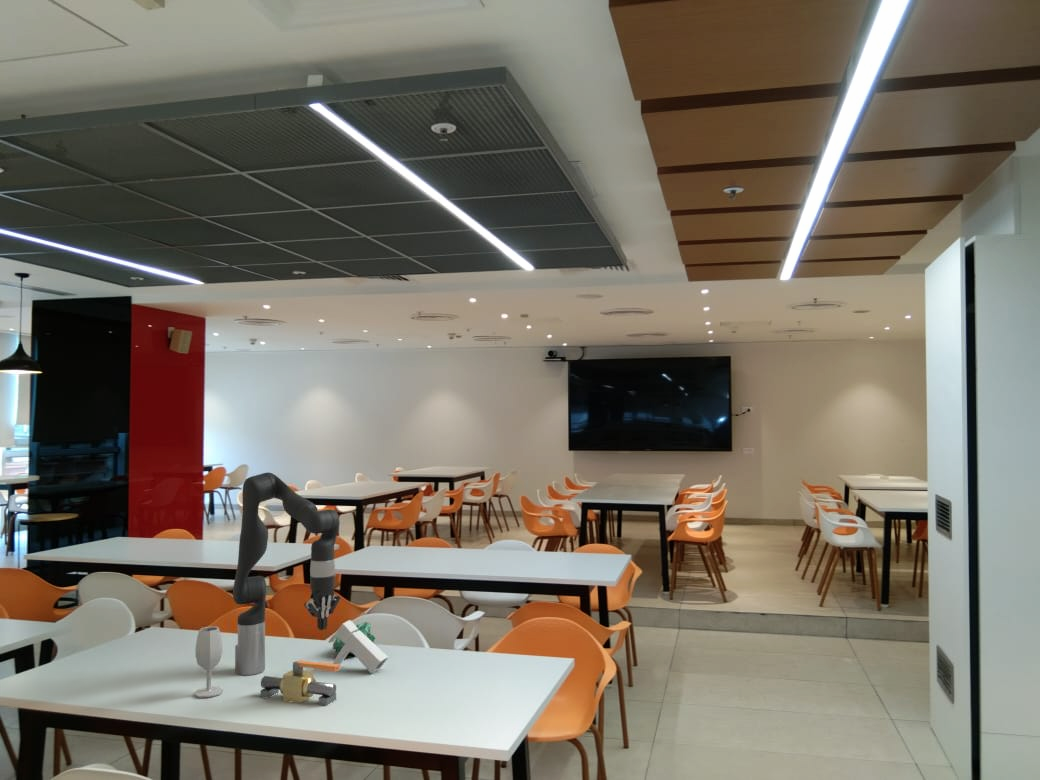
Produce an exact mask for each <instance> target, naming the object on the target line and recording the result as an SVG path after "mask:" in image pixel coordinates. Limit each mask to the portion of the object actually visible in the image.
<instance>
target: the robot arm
mask: <svg viewBox="0 0 1040 780" xmlns="http://www.w3.org/2000/svg"><path fill="white" fill-rule="evenodd" d="M241 493H242V496H241V497H242V512H241V513H242V516H241V526H240V527H241V529H240V533H239V534H240V535H239V544H238V557H237V558H238V559H237V567H236V572H235V577H234V583H233V589H232V597H233V601H234V603H235V604H236V605H250V604H253V606H252V607H250V608H249V609H247V610H246V611H244V612H242V613H240V614H238V616H237V644H235V645H234V646H235V647H234V654H235V655H234V659H235V660H234V661H235V662H234V664H235V665H234V671H235V672H234V673H237V674H238V675H240V676H251V675H252V676H253V675H257V674H261V673H263V672H264V671H265V670H266V600H267V599H266V598H267V582H266V579H265V577H264V576H263V575H256V576H249V574H250V572H251V571H252V569H253V568H254V567H255V566H256V565H257V563H259V561H260V560H261V559H262V558H263V557H264V555H265V554H266V551H267V549H268V548H267V547H268V539H269V531H268V528H267V527H266V524H265V523H264V521H263V520H262V519H261V517H260V516H259V506H260V504H261V503H263V502H266V501H269V500H272V499H277V500H280V501H281V502H282V507H283V509H284V511H285V513H286V514H287V515H289V516H290V517H292V519H295V520H297V521H298V522H300V523H301V525H302V526H303V528H305V530H306V531H307V532H309V533H311V534H315V535H318V534H320V537H319V538H318V539H317V540H315V541H313V542H312V543H311V547H310V568H309V569H310V570H309V572H310V573H309V574H310V575H309V576H310V579H309V581H310V582H309V583H310V584H309V585H310V586H309V587H310V588H309V589H310V591H311V593H310V597H309V598H310V599H309V600H308V601H307V602H304V605H303V606H304V607H305V609H306V610H307V612H309V614H310V615H311V616H312V617H313V618H316V623H317V626H316V627H317V629H318V630H319V631H324V630H327V627H328V617H329V616H330V615H333V613H334V611H335V610H336V607H337V605H338V603H339V601H340V599H341V596H339V595H336V594H335V590H334V589H335V587H336V566H335V565H336V564H335V543H336V541H337V537H338V532H339V530H340V521H341V520H340V517H339V514H338V512H336V510H334V509H330V508H329V509H322V510H318V507H317V506H316V504H315V503H313V502H312V501H310V500H308V499H306V498H305V497H303V496H301V495H299V494H298V493H296V492H295V491H294V490H293V489H292V488H291V487H289V485H288V484H286V483H285V482H284V481H283V480H282V479H281V478H280V477H279V476H278V475H276V474H274V473H272V472H263V473H260V474H255V475H252V476H249V477H247V478H245V480H244V482H243V485H242V492H241ZM260 672H261V673H260Z"/></svg>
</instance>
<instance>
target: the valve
mask: <svg viewBox="0 0 1040 780" xmlns="http://www.w3.org/2000/svg"><path fill="white" fill-rule="evenodd" d="M260 687H261V690H260V698H262V697H270V696H272V695H274V694H275V695H277V694H279V691H280V693H281V695H282V701H283V700H286V701H285V702H288V701H292V702H291V703H296V702H299V703H298V704H303V703H305V702H306V701H308V700H310V699H311V698H310V697H312V696H313V697H314V695H318V696H319V695H320V696H319V697H318V705H319V704H321V705H320V706H325V705H327V706H329V705H331V704H332V703H334V702H335V701H334V700H336V701H337V693H336V692H337V685H336V684H335V683H330V682H329V683H328V682H318V681H316V678H315V677H314V671H313V670H305V669H303V673H300V674H294V673H293V669H292V670H290V671H288V672H286V673H284V674H283V675H282V677H276V676H268V675H264V676H263V677H262V678H261V681H260ZM276 693H277V694H276ZM275 695H274V696H275ZM272 697H273V696H272ZM313 697H312V698H313ZM270 698H271V697H270ZM309 698H310V699H309ZM307 699H308V700H307ZM305 700H306V701H305ZM304 701H305V702H304ZM333 701H334V702H333ZM302 702H303V703H302ZM331 702H332V703H331ZM330 703H331V704H330ZM328 704H329V705H328Z"/></svg>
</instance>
